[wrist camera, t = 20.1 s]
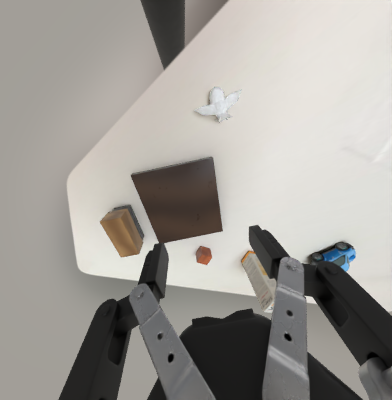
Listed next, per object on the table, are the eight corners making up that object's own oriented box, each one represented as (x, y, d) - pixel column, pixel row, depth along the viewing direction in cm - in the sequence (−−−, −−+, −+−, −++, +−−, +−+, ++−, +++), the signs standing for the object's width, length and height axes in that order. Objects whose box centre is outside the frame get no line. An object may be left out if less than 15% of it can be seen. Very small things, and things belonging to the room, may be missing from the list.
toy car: (347, 250, 43) (368, 266, 38) (308, 266, 45) (324, 283, 40) (345, 238, 41) (368, 254, 36) (305, 256, 43) (321, 273, 38)
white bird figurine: (237, 74, 21) (251, 77, 18) (239, 107, 25) (252, 115, 22) (188, 96, 22) (194, 103, 19) (197, 125, 26) (203, 136, 22)
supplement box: (240, 261, 42) (262, 312, 30) (248, 250, 40) (274, 300, 28) (263, 266, 44) (292, 316, 32) (271, 255, 42) (305, 304, 30)
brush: (129, 239, 35) (121, 257, 30) (112, 207, 31) (99, 221, 26) (145, 236, 35) (139, 254, 30) (130, 203, 31) (120, 217, 26)
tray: (132, 173, 28) (130, 175, 27) (211, 156, 27) (213, 157, 26) (160, 240, 36) (159, 243, 35) (221, 228, 36) (222, 231, 34)
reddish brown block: (205, 256, 40) (195, 253, 39) (210, 248, 38) (200, 245, 38) (206, 265, 37) (196, 262, 36) (212, 257, 36) (201, 254, 35)
